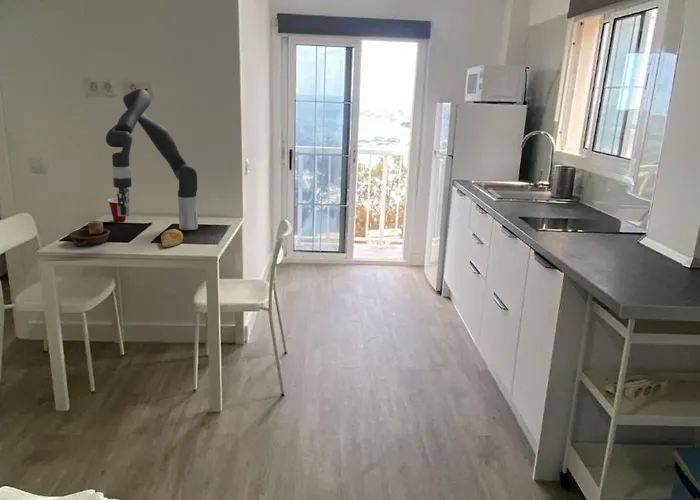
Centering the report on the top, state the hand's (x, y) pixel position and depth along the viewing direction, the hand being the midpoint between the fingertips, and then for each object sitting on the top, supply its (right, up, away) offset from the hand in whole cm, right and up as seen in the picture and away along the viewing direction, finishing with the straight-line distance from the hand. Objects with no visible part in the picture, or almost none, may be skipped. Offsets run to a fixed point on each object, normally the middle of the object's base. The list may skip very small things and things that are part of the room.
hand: (124, 213), depth 254 cm
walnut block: (-16, -8, +7) cm, 20 cm away
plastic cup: (-23, -1, +51) cm, 56 cm away
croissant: (+18, -14, +12) cm, 25 cm away
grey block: (0, -1, 0) cm, 1 cm away
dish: (-19, -13, +8) cm, 25 cm away
